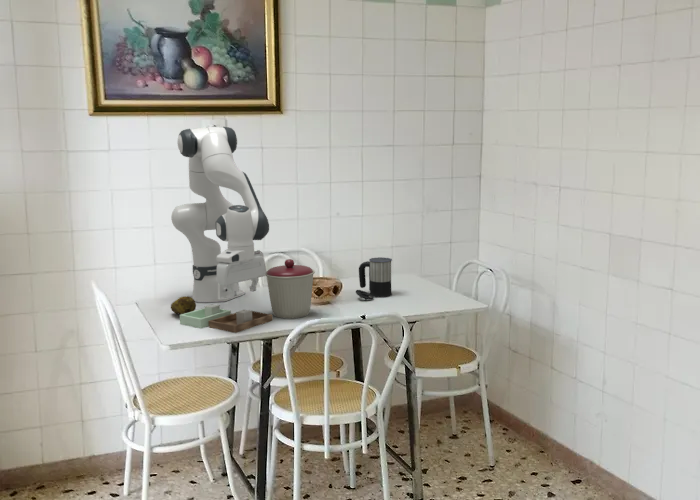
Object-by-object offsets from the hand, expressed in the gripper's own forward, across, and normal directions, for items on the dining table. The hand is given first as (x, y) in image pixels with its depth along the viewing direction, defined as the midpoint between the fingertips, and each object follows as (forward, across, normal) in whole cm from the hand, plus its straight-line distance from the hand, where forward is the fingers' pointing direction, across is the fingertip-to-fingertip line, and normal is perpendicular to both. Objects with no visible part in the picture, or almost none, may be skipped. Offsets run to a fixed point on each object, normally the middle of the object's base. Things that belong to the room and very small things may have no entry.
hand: (243, 293), depth 251 cm
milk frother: (+12, -61, +11) cm, 63 cm away
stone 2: (+11, 0, 0) cm, 11 cm away
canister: (+12, -21, +3) cm, 24 cm away
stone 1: (+11, 0, -16) cm, 20 cm away
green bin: (+12, +3, -16) cm, 20 cm away
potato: (+12, 0, -31) cm, 33 cm away
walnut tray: (+12, -1, -3) cm, 13 cm away
